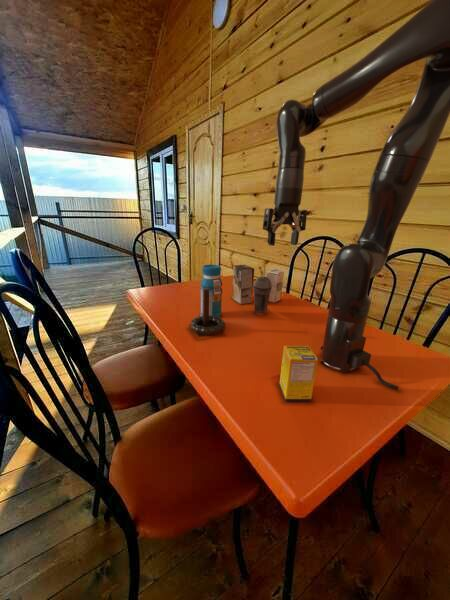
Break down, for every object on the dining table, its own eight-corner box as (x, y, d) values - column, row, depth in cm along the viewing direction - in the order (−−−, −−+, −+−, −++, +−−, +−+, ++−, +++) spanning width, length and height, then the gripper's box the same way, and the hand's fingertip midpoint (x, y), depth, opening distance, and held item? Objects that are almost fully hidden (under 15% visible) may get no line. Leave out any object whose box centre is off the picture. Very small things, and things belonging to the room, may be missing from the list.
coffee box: (252, 302, 117) (255, 268, 111) (240, 304, 114) (242, 269, 109) (243, 296, 124) (245, 264, 119) (231, 298, 122) (232, 265, 116)
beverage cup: (268, 311, 108) (273, 264, 101) (269, 317, 101) (274, 268, 94) (251, 309, 108) (254, 263, 102) (251, 316, 101) (255, 267, 95)
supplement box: (302, 384, 62) (309, 345, 58) (311, 402, 56) (319, 359, 53) (278, 384, 62) (283, 344, 58) (284, 402, 56) (290, 359, 52)
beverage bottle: (198, 320, 96) (198, 268, 90) (201, 311, 104) (201, 263, 98) (220, 321, 96) (222, 269, 89) (221, 312, 104) (223, 264, 97)
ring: (231, 332, 84) (231, 325, 83) (197, 338, 79) (197, 331, 78) (216, 318, 94) (216, 312, 93) (185, 323, 89) (185, 317, 88)
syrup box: (270, 297, 125) (273, 268, 120) (280, 300, 121) (284, 270, 116) (263, 300, 121) (266, 270, 116) (274, 303, 117) (278, 272, 112)
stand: (223, 335, 85) (224, 291, 80) (198, 340, 81) (198, 294, 76) (212, 324, 93) (213, 283, 88) (189, 328, 89) (188, 286, 84)
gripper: (276, 184, 66) (271, 247, 71) (317, 188, 72) (309, 246, 78) (260, 186, 72) (256, 244, 78) (299, 189, 79) (292, 243, 84)
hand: (282, 245), depth 78 cm, fingers open, 8 cm apart
